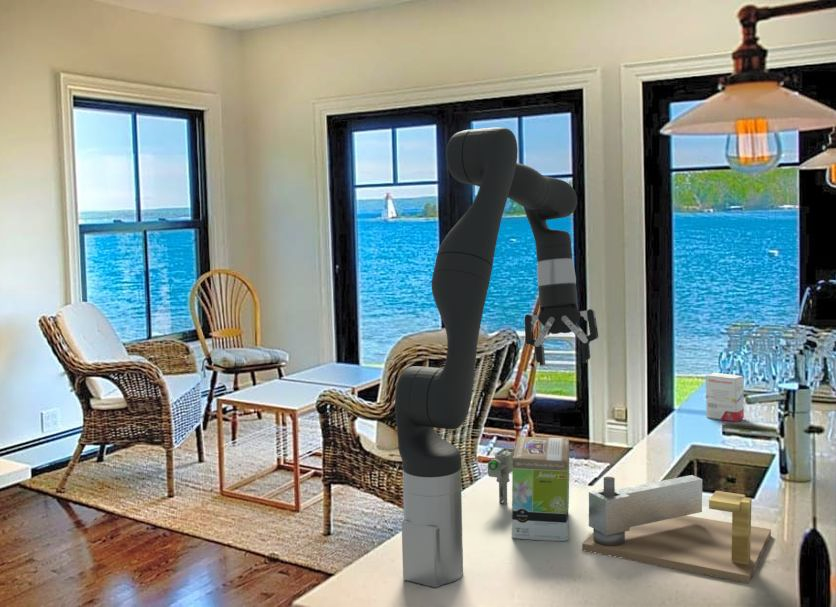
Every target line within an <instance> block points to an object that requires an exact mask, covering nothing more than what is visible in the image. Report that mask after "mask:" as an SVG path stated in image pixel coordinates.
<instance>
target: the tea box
mask: <svg viewBox="0 0 836 607" xmlns="http://www.w3.org/2000/svg"><path fill="white" fill-rule="evenodd" d="M514 449H515V451H514V455H513V470H512V472H511V474H512V475H511V476H512V481H511V482H512V484H511V486H512V487H511V491H512V492H511V506H512V507H511V538H512V539H518V540H519V539H520V540H530V541H531V540H533V541H534V540H535V541H551V542H552V541H554V542H567V540H568V534H569V533H568V531H569V530H568V528H569V506H570V499H569V498H570V440H569V438H567V437H566V438H564V437H541V436H540V437H539V436H518V437H517V438H516V444H515V448H514Z"/></svg>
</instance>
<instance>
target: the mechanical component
mask: <svg viewBox="0 0 836 607" xmlns="http://www.w3.org/2000/svg"><path fill="white" fill-rule="evenodd" d="M514 451H515V448H513V447H503V448H501V449H500V450H498V451H497V452H495V453H494V458H492V459H491V460H489V461H488V463H487V475H488V477H492V478H496V479H495V480H496V482H497V483H498V498H499V499H498V502H499V503H500V504H501V503H502V504H503V505H504V504H506V503H507V504H508V483H510V480H511V479H510V474H511V473H512V470H513V455H514ZM499 503H498V504H499ZM507 504H506V505H507Z"/></svg>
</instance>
